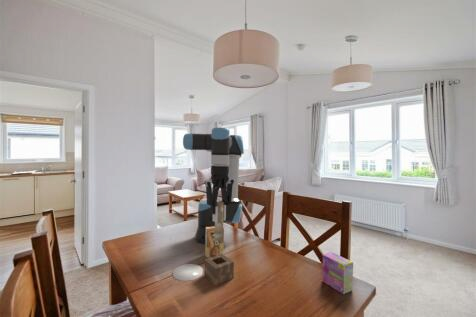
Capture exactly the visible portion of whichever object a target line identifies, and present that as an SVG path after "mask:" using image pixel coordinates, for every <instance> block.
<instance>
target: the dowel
mask: <svg viewBox="0 0 476 317" xmlns="http://www.w3.org/2000/svg"><path fill="white" fill-rule="evenodd" d="M216 206H217V207H218V222H215V240H216V241H222V240H223V228H224V223H223V210H224V202H223V201H221V200H217V203H216Z"/></svg>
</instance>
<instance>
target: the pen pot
mask: <svg viewBox="0 0 476 317" xmlns="http://www.w3.org/2000/svg"><path fill="white" fill-rule="evenodd" d="M203 273H204V277H205V278H206V279H207V280H208V281H209V282H211V284H213V285H214V286H215V287H216V286H219V285H221V284H224V283H227V282H228V281H231V280H233V279H234V277H235V262H234V261H233V260H232V259H231V258H229V257H228V256H226V255H224V253H223V254H220V255H217V256H214V257H207V258H205V259H204V269H203Z"/></svg>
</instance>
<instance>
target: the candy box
mask: <svg viewBox="0 0 476 317" xmlns="http://www.w3.org/2000/svg"><path fill="white" fill-rule="evenodd" d="M224 232H225V228H224V227H223V240H222V241H216V240H215V226H212V227H206V232H205V243H204V250H205V251H204V253H205V254H204V255H205V257H206V258H211V257H214V256H217V255H220V254H223V255H224V239H225V238H224V237H225V236H224V235H225V233H224Z"/></svg>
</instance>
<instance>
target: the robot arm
mask: <svg viewBox="0 0 476 317" xmlns="http://www.w3.org/2000/svg"><path fill="white" fill-rule="evenodd" d="M182 145H183V148H184V149H185V150H188V151H189V150H190V151H206V152H210V164H211V166H210V179H209V180H205V181H204V185H205V190H206V191H205V192H206V194H205V195H206V200H203V201H201V202H200V203H199V204H198V207H197V208H198V209H197V215H198V216H197V222H198V223H197V228H196V232H195V235H194V240H195V241H196V242H197V243H200V244H205V232H206V227H212V226H215V222H218V207H217V206H216V203H217V201H218V195H219V191H220V193H221V199H220V201H223V202H224V210H223V224H238V223H240V220H241V216H242V210H243V203H241V200H240V199H239V171H240V169H239V168H240V167H239V166H240V159H241V158H242V155H244V154H245V151H244V141H243V137H242V136H241V135H237V134H231V133H230V129H229V128H227V127H213V128H211V133H185V134H184V135H183V137H182Z"/></svg>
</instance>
